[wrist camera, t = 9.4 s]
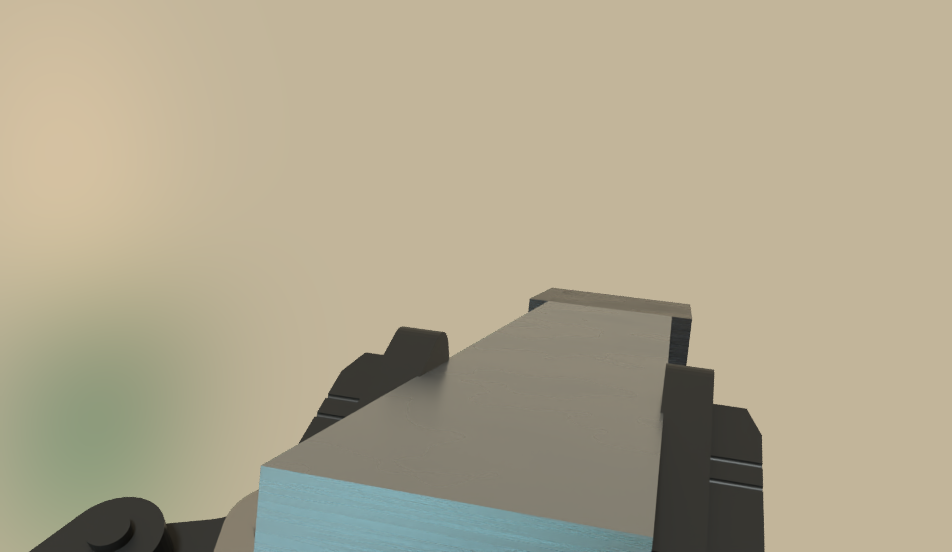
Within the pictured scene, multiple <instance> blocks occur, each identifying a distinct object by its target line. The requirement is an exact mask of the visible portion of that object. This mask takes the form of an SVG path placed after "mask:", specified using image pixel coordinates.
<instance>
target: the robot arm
mask: <svg viewBox="0 0 952 552" xmlns="http://www.w3.org/2000/svg"><path fill="white" fill-rule="evenodd" d="M448 348H449V347H448V338H447V335H446V333H445V332H439V331H432V330H425V329H417V328H410V327H400V328H399V329H398V330H397V331H396V333H395V335H394V337H393V339H392V340H391V342H390V344H389V346H388V348H387V350H386V351H385V353H384V355H379V354H372V353H364V354H363V355H362V356H360V357H359V358H358V359H357V360H355V361H354V362H353V363H351V364H350V365H349V366H347V367H346V368H345V369H344V370H342V371H341V373H340V375H339V376H338V378H337V380H336V381H335V383H334V385H333V387H332V388H331V390H330V392H329V393H328V398H325V400H324V402H323V403H322V405H321V407H320V408H319V410H318V412H317V417H314V419H313V420H312V422H311V424H310V425H309V427H308V429H307V430H306V432H305V434H304V435H303V437H302V439H301V441H300V442H299V444H300V443H301V442H303V441H305V440H307V439H308V438H310V437H312V436H314V435H315V434H317V433H319V432H321V431H322V430H324V429H326V428H328V427H329V426H331V425H333V424H335V423H336V422H338V421H340V420H342V419H343V418H345V417H347V416H349V415H350V414H352V413H354V412H356V411H357V410H359V409H361V408H363V407H364V406H366V405H368V404H370V403H371V402H373V401H375V400H377V399H378V398H380V397H382V396H383V395H385V394H387V393H389V392H390V391H392V390H394V389H396V388H397V387H399V386H401V385H403V384H404V383H406V382H408V381H410V380H411V379H413V378H415V377H417V376H418V377H420V376H422V375H424V374H425V373H427V372H429V371H430V370H432V369H434V368H436V367H437V366H439V365H441V364H442V363H444V362H446V361H448V360H449V349H448ZM713 390H714V370H712V369H704V368H697V367H690V366H683V365H675V364H668V363H666V369H665V377H664V385H663V393H662V403H661V412H660V413H664V415H663V427H662V439H661V450H660V462H659V474H658V486H657V497H656V509H655V521H654V533H653V542H652V551H651V552H764V515H763V514H764V513H763V492H762V489H763V470H762V435H761V433H760V431H759V430H758V428H757V426H756V425H755V423H754V421H753V419H752V418H751V416H750V414H749V412H748V411H747V409H744V408H737V407H730V406H724V405H717V404H713ZM258 494H259V490H257V491H255V492H253V493H251V494H249V495H247V496H246V497H244V498H243V499H242V500H240V501H239V502H238V503H237V504H236V505H235V506H234V507H233V508H232V509H231V511H230V512H229V514H228V515H227V517H223V518H218V519H212V520H202V521H190V522H179V523H169V524H166V523H165V520H164V517H163V514H162V512H161V511H160V509H159V508H158V507H157V506H156V505H155V504H154V503H152V502H150V501H148V500H145V499H142V498H136V497H123V498H116V499H112V500H108V501H105V502H103V503H100V504H97V505H95V506H93V507H91V508H90V509H88V510H86V511H85V512H83V513H82V514H80V515H79V516H78V517H76V518H75V519H74V520H72V521H71V522H69V523H68V524H67V525H65V526H64V527H63V528H61V529H60V530H59V531H57V532H56V533H54V534H53V535H52V536H50V537H49V538H47V539H46V540H45V541H43V542H42V543H41V544H39V545H38V546H36V547H35V548H34V549H32V550H31V551H30V552H254V543H255V531H256V519H257V507H258Z"/></svg>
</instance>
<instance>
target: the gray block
mask: <svg viewBox="0 0 952 552" xmlns="http://www.w3.org/2000/svg"><path fill="white" fill-rule="evenodd" d="M691 322H692V316H691V308H690V305H689V304H681V303H673V302H665V301H656V300H648V299H640V298H632V297H624V296H615V295H607V294H599V293H591V292H583V291H574V290H566V289H557V288H551V289H549V290H547V291H545V292H543V293H541V294H539V295H536V296H534V297H532V298H531V299H530V302H529V311H528V313H527V314H525V315H523V316H521V317H520V318H518V319H516V320H515V321H513V322H511V323H509V324H508V325H506V326H504V327H502V328H501V329H499V330H497V331H495V332H494V333H492V334H490V335H488V336H487V337H485V338H483V339H481V340H480V341H478V342H476V343H475V344H473V345H471V346H469V347H467V348H466V349H464V350H462V351H460V352H459V353H457V354H455V355H453V356H452V357H450V358H449V360H448V361H446V362H444V363H442V364H441V365H439V366H437V367H436V368H434V369H432V370H430V371H429V372H427V373H425V374H424V375H422V376H420V377H418V376H417V377H415V378H413V379H411V380H410V381H408V382H406V383H404V384H403V385H401V386H399V387H397V388H396V389H394V390H392V391H390V392H389V393H387V394H385V395H383V396H382V397H380V398H378V399H377V400H375V401H373V402H371V403H370V404H368V405H366V406H364V407H363V408H361V409H359V410H357V411H356V412H354V413H352V414H350V415H349V416H347V417H345V418H343V419H342V420H340V421H338V422H336V423H335V424H333V425H331V426H329V427H328V428H326V429H324V430H322V431H321V432H319V433H317V434H315V435H314V436H312V437H310V438H308V439H307V440H305V441H303V442H301V443H300V444H298V445H296V446H294V447H293V448H291V449H289V450H288V451H286V452H284V453H282V454H281V455H279V456H277V457H275V458H273V459H272V460H270V461H268V462H266V463H265V464H263V465H261V471H260V483H259V494H258V507H257V519H256V531H255V543H254V552H651V551H652V542H653V533H654V521H655V509H656V497H657V486H658V474H659V462H660V450H661V439H662V427H663V415H664V413H660V412H661V403H662V393H663V385H664V377H665V369H666V363H668V364H675V365H683V366H686V363H687V355H688V347H689V339H690V331H691Z"/></svg>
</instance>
